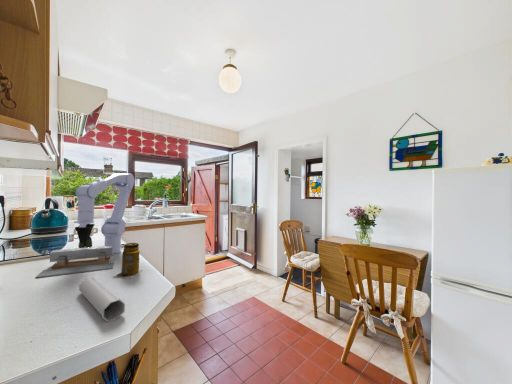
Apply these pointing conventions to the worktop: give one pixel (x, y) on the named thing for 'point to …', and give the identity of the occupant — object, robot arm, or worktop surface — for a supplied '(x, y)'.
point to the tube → (102, 299)
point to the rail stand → (80, 261)
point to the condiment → (130, 261)
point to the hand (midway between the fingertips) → (84, 241)
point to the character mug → (88, 242)
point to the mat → (75, 270)
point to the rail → (81, 253)
